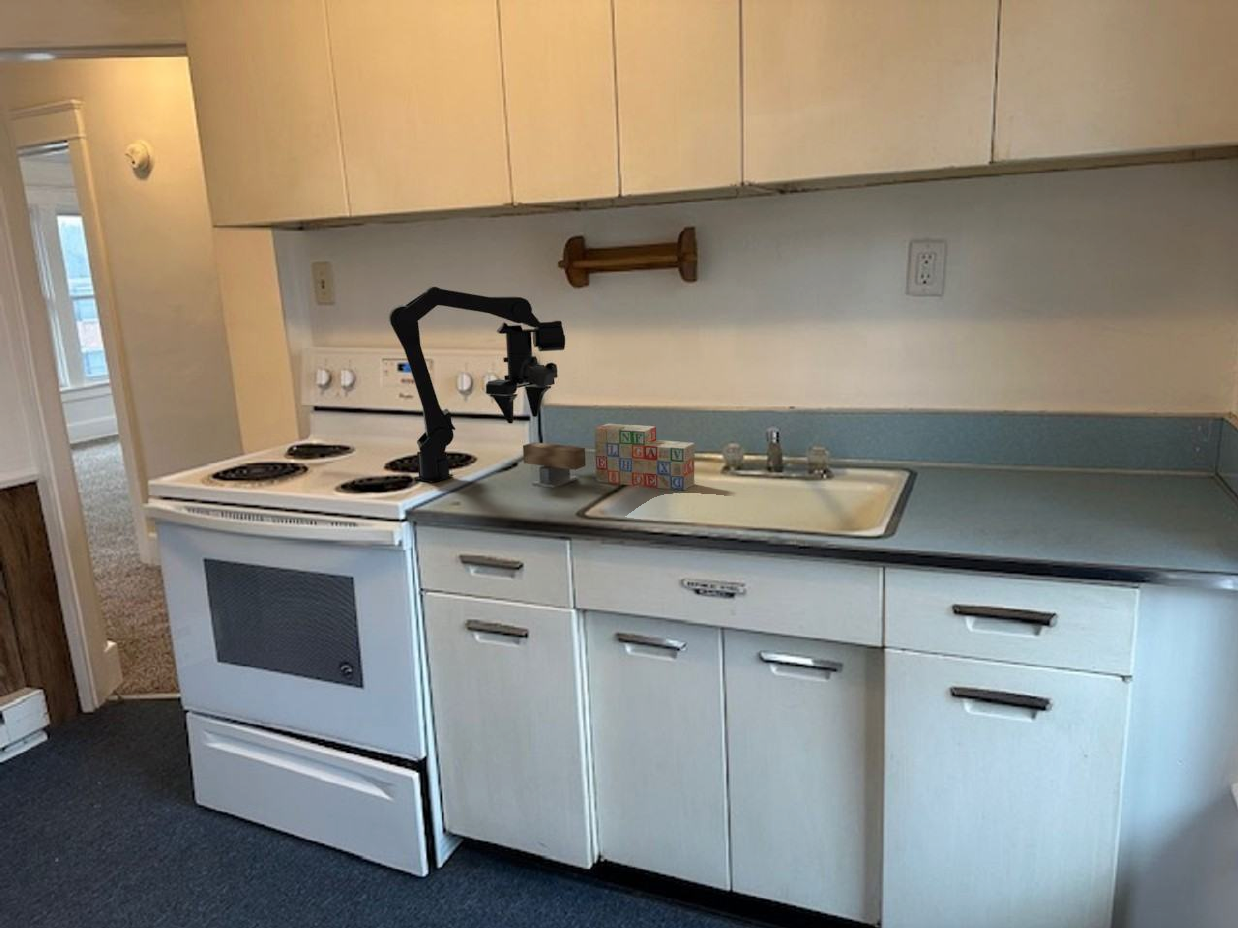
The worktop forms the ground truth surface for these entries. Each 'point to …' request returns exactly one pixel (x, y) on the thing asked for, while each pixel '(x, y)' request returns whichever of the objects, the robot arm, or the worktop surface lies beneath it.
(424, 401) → the robot arm
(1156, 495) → the worktop surface
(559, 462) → the bar
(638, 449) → the stack of blocks
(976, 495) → the worktop surface
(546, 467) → the ridge
